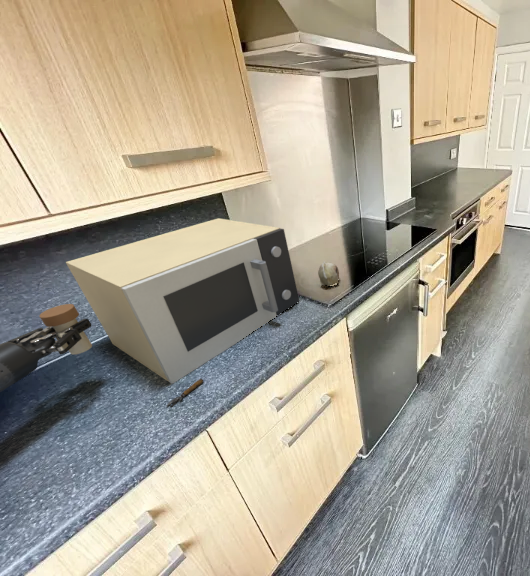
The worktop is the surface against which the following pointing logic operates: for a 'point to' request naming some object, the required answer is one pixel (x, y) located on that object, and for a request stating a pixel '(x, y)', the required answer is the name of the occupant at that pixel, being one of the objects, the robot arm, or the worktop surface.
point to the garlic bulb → (328, 274)
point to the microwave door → (203, 307)
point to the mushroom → (65, 324)
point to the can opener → (186, 392)
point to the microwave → (162, 257)
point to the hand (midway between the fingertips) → (80, 321)
